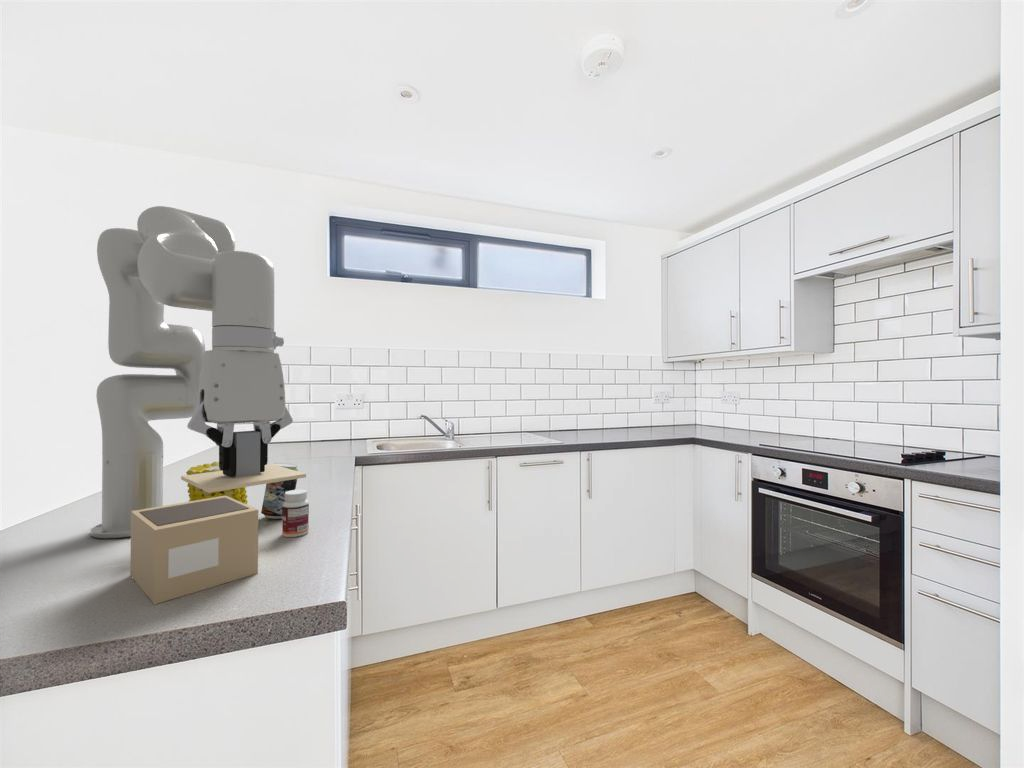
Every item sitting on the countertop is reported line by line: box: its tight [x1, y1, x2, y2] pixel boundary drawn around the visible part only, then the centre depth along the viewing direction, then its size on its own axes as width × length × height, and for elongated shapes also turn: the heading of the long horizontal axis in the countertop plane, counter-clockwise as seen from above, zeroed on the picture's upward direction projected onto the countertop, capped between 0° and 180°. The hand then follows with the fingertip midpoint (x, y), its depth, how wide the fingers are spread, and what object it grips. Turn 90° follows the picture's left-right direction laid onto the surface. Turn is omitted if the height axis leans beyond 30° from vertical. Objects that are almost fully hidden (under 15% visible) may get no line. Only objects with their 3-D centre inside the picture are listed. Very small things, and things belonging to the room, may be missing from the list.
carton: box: [129, 496, 259, 605], centre depth 70 cm, size 14×13×10 cm
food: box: [185, 461, 249, 505], centre depth 88 cm, size 15×12×10 cm
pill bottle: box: [281, 489, 310, 538], centre depth 89 cm, size 5×5×8 cm
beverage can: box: [260, 462, 299, 519], centre depth 100 cm, size 6×7×12 cm
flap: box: [180, 430, 307, 493], centre depth 62 cm, size 11×12×6 cm
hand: (243, 471), depth 63 cm, fingers closed on flap, 3 cm apart
